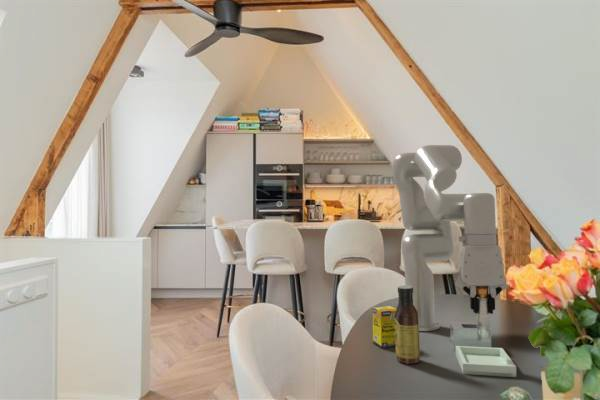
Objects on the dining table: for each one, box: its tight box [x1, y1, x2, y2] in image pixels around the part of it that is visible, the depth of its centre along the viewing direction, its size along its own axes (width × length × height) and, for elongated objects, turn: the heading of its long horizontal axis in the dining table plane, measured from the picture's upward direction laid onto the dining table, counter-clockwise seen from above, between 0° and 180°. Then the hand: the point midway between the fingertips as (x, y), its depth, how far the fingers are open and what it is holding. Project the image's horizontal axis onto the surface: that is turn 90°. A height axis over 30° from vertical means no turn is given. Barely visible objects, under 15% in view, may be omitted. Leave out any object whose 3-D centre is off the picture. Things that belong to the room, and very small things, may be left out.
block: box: [449, 321, 492, 351], centre depth 126 cm, size 10×8×6 cm
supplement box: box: [372, 305, 397, 349], centre depth 130 cm, size 6×6×11 cm
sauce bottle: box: [395, 285, 421, 365], centre depth 116 cm, size 6×6×20 cm
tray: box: [455, 346, 517, 378], centre depth 111 cm, size 12×14×2 cm
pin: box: [475, 286, 491, 342], centre depth 111 cm, size 3×3×14 cm
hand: (482, 311), depth 111 cm, fingers closed on pin, 3 cm apart
